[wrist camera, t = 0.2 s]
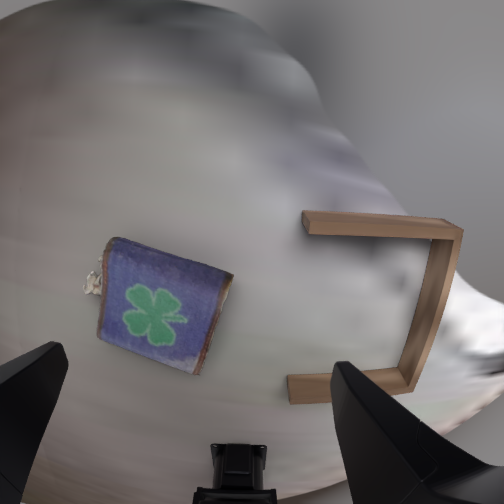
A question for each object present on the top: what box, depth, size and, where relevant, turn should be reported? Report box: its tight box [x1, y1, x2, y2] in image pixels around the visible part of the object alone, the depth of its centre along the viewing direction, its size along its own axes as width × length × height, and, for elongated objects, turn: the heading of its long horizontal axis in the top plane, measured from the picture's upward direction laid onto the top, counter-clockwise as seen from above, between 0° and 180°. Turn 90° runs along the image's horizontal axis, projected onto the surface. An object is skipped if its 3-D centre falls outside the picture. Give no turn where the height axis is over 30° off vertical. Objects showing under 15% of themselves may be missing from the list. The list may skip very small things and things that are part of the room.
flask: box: [83, 237, 234, 375], centre depth 22 cm, size 9×3×11 cm
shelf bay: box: [287, 210, 464, 404], centre depth 23 cm, size 16×12×3 cm
